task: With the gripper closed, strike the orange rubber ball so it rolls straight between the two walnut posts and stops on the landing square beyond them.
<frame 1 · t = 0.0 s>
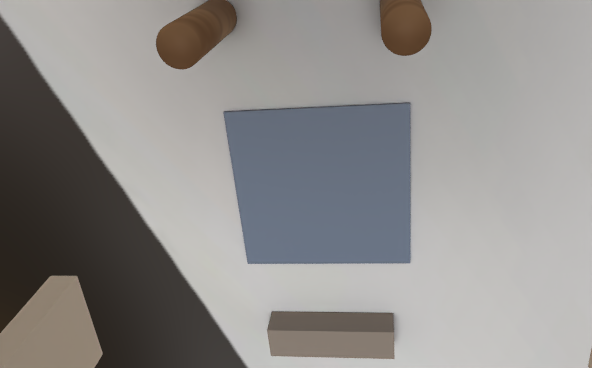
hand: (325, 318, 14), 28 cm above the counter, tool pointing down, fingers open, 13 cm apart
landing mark: (321, 190, 44), on the counter
stopper: (332, 325, 50), on the counter
post 2: (399, 3, 37), on the counter
post 1: (218, 17, 39), on the counter
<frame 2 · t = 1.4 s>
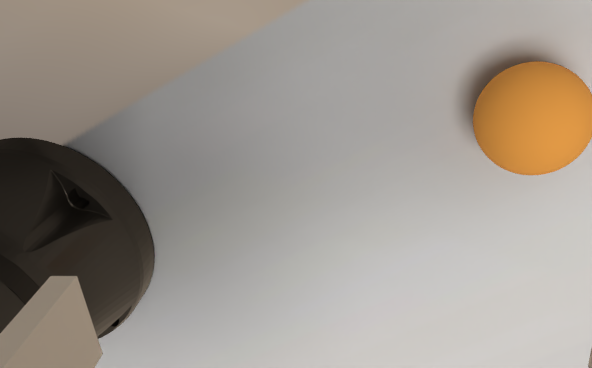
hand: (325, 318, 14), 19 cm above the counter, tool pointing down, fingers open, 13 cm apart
ball: (532, 119, 27), on the counter
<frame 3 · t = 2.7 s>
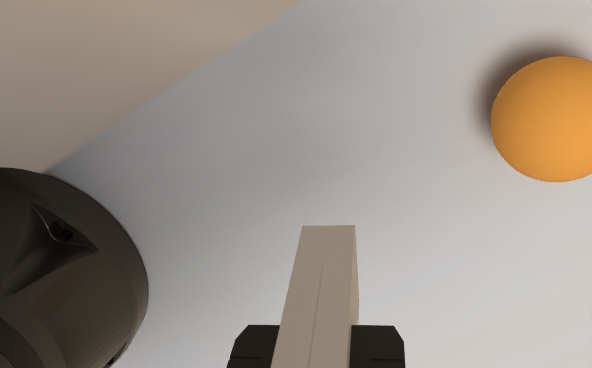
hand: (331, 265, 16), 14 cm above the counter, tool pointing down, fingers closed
ball: (556, 120, 24), on the counter
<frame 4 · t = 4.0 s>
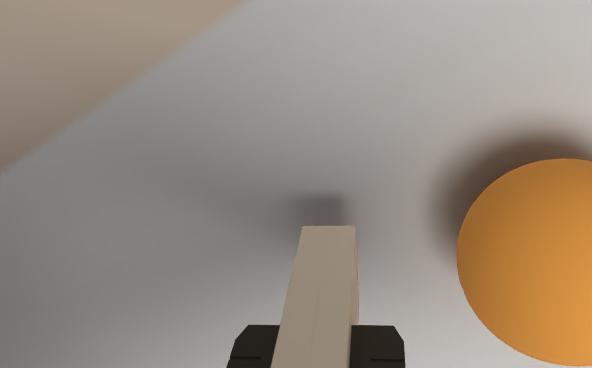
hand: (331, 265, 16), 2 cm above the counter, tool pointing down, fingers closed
ball: (561, 259, 15), on the counter
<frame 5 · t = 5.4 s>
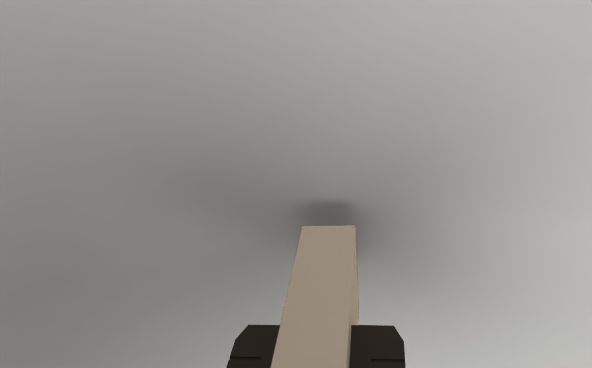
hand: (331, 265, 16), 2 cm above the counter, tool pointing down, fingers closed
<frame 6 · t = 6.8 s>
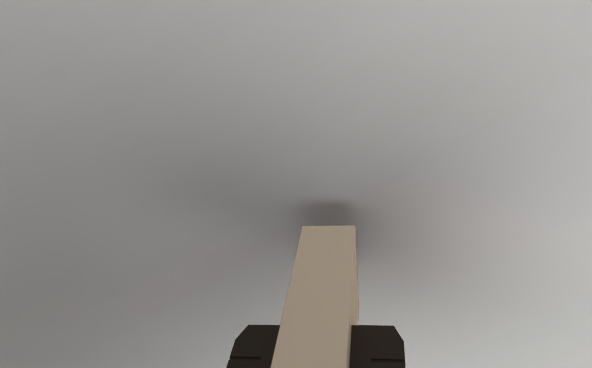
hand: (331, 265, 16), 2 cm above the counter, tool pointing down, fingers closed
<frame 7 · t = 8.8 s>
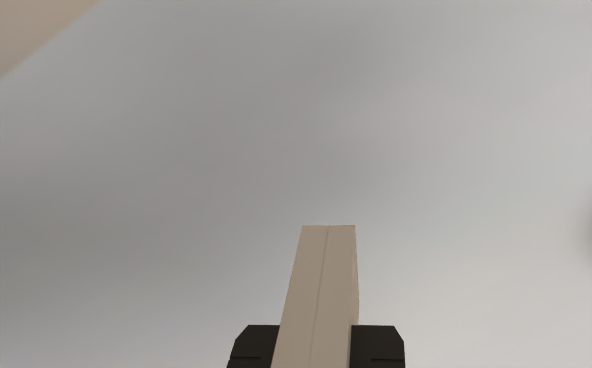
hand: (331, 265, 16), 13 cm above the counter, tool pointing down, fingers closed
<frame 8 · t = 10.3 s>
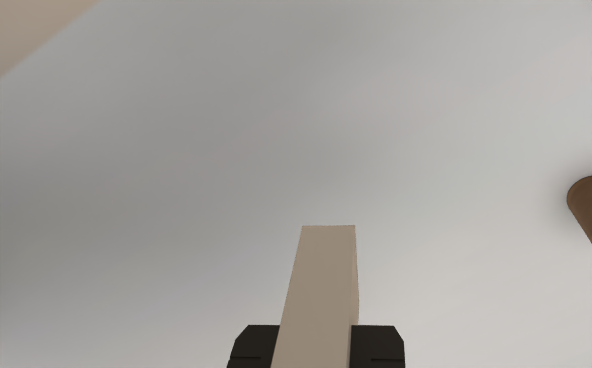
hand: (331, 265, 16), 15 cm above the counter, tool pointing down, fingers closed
post 1: (591, 196, 30), on the counter
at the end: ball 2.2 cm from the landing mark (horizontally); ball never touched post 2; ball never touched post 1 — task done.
